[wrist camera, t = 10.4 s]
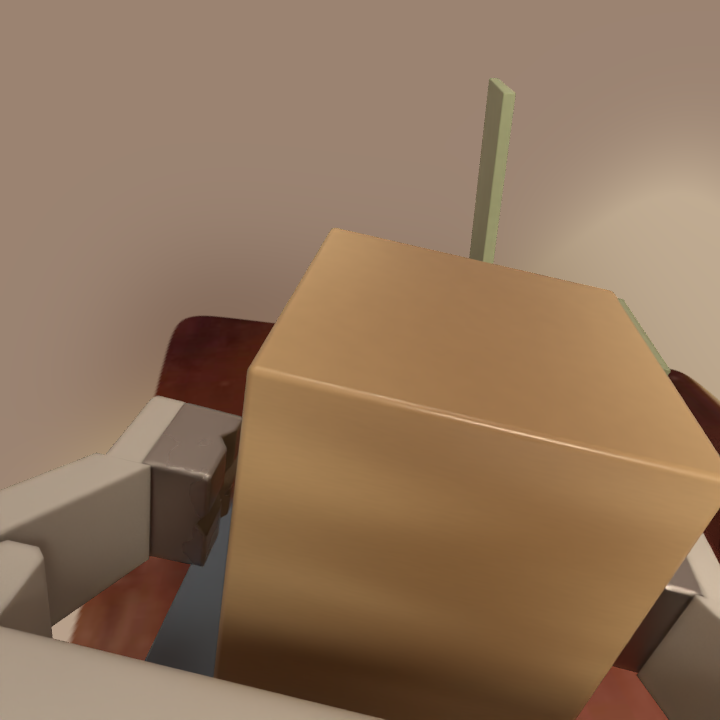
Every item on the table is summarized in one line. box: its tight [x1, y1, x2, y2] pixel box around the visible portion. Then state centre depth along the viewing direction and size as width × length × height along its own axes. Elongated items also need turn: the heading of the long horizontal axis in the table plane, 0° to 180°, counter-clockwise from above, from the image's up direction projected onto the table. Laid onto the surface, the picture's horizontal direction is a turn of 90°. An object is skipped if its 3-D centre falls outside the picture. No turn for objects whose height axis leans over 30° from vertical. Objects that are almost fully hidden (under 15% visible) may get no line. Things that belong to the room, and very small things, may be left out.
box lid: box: [469, 78, 515, 264], centre depth 41 cm, size 14×12×1 cm
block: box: [213, 228, 720, 720], centre depth 9 cm, size 4×4×8 cm
